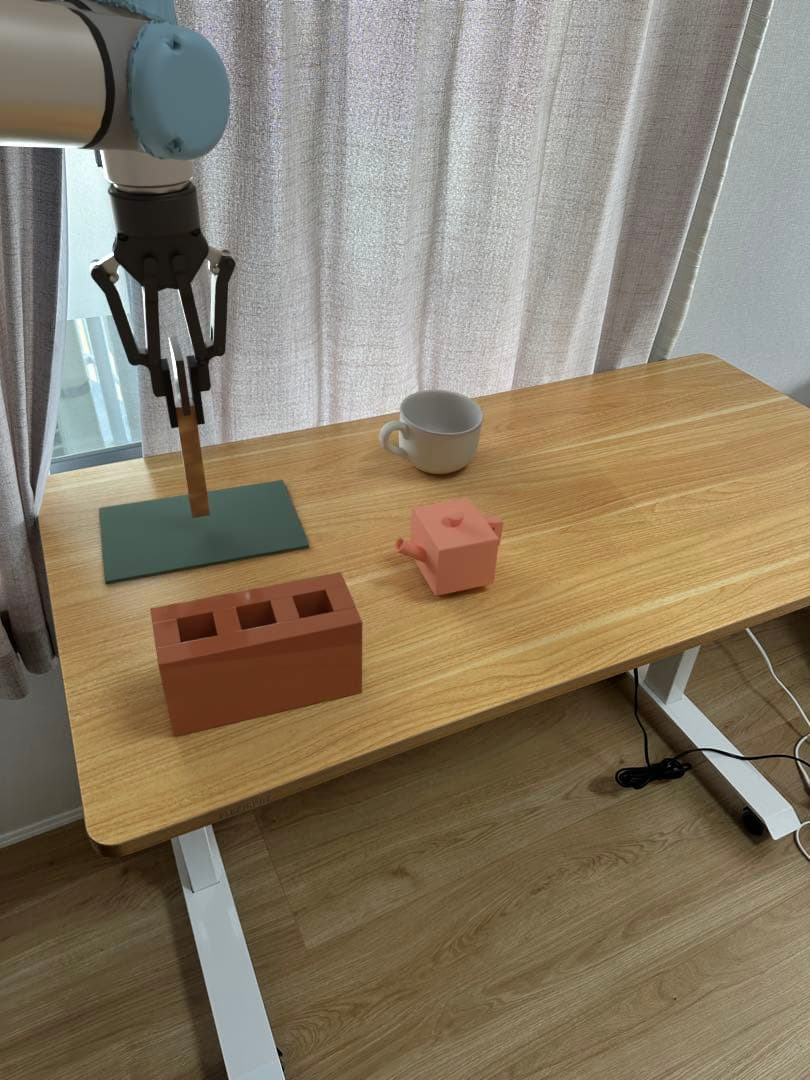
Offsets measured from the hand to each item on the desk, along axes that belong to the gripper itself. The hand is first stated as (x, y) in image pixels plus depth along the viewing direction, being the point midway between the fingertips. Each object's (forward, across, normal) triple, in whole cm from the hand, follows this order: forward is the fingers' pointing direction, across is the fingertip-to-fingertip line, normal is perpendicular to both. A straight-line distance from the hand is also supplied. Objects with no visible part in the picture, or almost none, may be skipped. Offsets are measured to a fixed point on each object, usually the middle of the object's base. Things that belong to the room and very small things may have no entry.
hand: (186, 419), depth 85 cm
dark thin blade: (+12, 0, 0) cm, 12 cm away
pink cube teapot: (+14, -24, +16) cm, 32 cm away
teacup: (+15, -30, -6) cm, 34 cm away
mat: (+14, 0, 0) cm, 14 cm away
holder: (+14, -2, +26) cm, 30 cm away
